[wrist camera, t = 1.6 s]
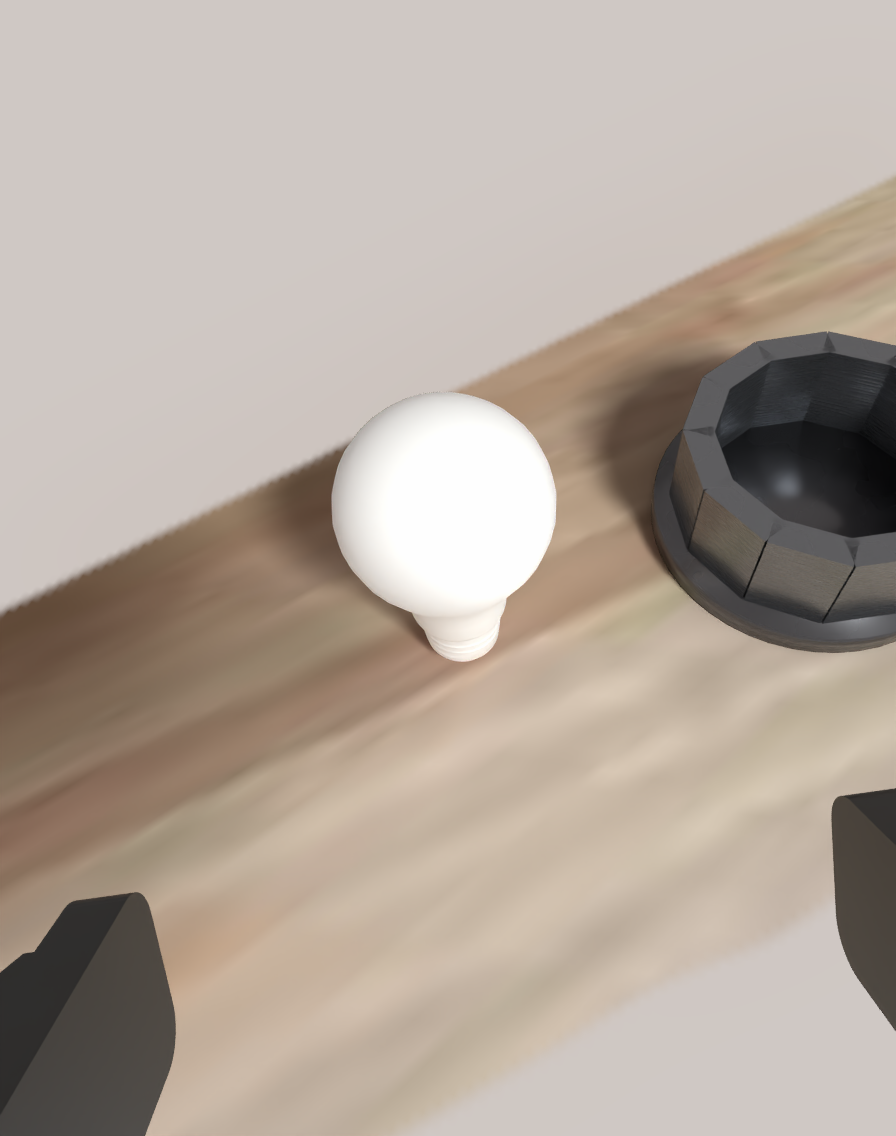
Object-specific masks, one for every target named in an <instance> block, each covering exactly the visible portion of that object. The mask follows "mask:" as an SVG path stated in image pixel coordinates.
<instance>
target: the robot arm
mask: <svg viewBox="0 0 896 1136" xmlns="http://www.w3.org/2000/svg"><path fill="white" fill-rule="evenodd" d="M832 840H833V861H834V882H835V903H836V919H837V925H838V931H839V935H840V939H841V942H842V946H843V949H844V952H845V954H846V957H847V959H848V961H849V963H850V966H851V968H852V970H853V971H854V973H855V975H856V976H857V978H858V979H859V981H860V982H861V984H862V985H863V986H864V988H865V989H866V990H867V992H868V993H869V995H870V996H871V998H872V999H873V1000H874V1002H875V1003H876V1004H877V1006H878V1007H879V1009H880V1010H881V1011H882V1013H883V1014H884V1016H885V1017H886V1018H887V1020H888V1021H889V1022H890V1024H891V1025H892V1027H893V1028H894V1029H895V1030H896V788H895V789H888V790H881V791H874V792H867V793H860V794H852V795H845V796H839V797H837V798H836V799H835V801H834V803H833V807H832ZM175 1035H176V1024H175V1012H174V1006H173V1001H172V997H171V993H170V989H169V985H168V981H167V977H166V973H165V968H164V964H163V960H162V956H161V952H160V948H159V944H158V939H157V935H156V931H155V927H154V923H153V919H152V915H151V911H150V908H149V905H148V903H147V901H146V899H145V897H144V896H143V895H142V894H140V893H137V892H135V893H128V894H120V895H113V896H106V897H99V898H92V899H84V900H77V901H73V902H71V903H70V904H68V905H67V906H66V908H65V909H64V910H63V912H62V913H61V914H60V916H59V917H58V919H57V920H56V922H55V923H54V925H53V926H52V927H51V929H50V930H49V932H48V933H47V935H46V936H45V937H44V939H43V940H42V942H41V943H40V945H39V946H38V947H37V949H36V950H35V952H32V953H25V954H22V955H21V956H20V957H19V958H18V959H16V960H15V961H14V962H13V963H11V964H10V965H9V966H8V967H7V968H5V969H4V970H3V971H2V972H1V973H0V1136H145V1134H146V1131H147V1129H148V1126H149V1123H150V1121H151V1118H152V1115H153V1113H154V1110H155V1108H156V1105H157V1102H158V1100H159V1097H160V1094H161V1092H162V1089H163V1086H164V1084H165V1081H166V1079H167V1076H168V1073H169V1070H170V1067H171V1064H172V1060H173V1054H174V1048H175Z"/></svg>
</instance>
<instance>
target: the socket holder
mask: <svg viewBox="0 0 896 1136" xmlns="http://www.w3.org/2000/svg"><path fill="white" fill-rule="evenodd" d="M651 518H652V527H653V532H654V536H655V541H656V543H657V546H658V548H659V551H660V554H661V556H662V558H663V560H664V562H665V563H666V565H667V567H668V569H669V571H670V572H671V573H672V575H673V576H674V577H675V579H676V580H677V581H678V583H679V584H680V585H681V587H682V588H683V589H684V590H685V591H686V592H687V593H688V594H689V595H690V596H691V597H692V598H693V599H694V600H695V601H696V602H697V603H698V604H700V605H701V606H702V607H703V608H704V609H706V610H707V611H708V612H709V613H711V614H712V615H714V616H715V617H717V618H718V619H720V620H721V621H723V622H724V623H726V624H728V625H729V626H731V627H733V628H735V629H737V630H739V631H741V632H743V633H745V634H747V635H749V636H752V637H755V638H757V639H760V640H763V641H765V642H768V643H771V644H775V645H779V646H783V647H787V648H791V649H797V650H804V651H811V652H827V653H841V652H853V651H861V650H866V649H871V648H876V647H880V646H883V645H886V644H889V643H892V642H895V641H896V346H895V345H890V344H885V343H881V342H876V341H871V340H866V339H862V338H857V337H852V336H847V335H842V334H838V333H833V332H828V334H827V332H819V333H813V334H806V335H799V336H792V337H785V338H778V339H771V340H764V341H757V342H756V343H755V342H754V343H753V344H751V345H750V346H748V347H747V348H745V349H744V350H742V351H741V352H739V353H738V354H736V355H735V356H733V357H732V358H730V359H729V360H727V361H726V362H724V363H723V364H721V365H720V366H718V367H717V368H715V369H714V370H712V371H711V372H709V373H708V374H706V375H705V376H703V377H702V380H701V383H700V385H699V388H698V391H697V393H696V396H695V399H694V401H693V404H692V406H691V409H690V412H689V414H688V417H687V420H686V422H685V425H684V428H683V429H682V430H681V431H680V432H679V434H678V435H677V436H676V437H675V438H674V439H673V441H672V442H671V444H670V445H669V447H668V448H667V450H666V452H665V454H664V456H663V458H662V460H661V462H660V465H659V468H658V472H657V475H656V479H655V484H654V490H653V496H652V504H651Z"/></svg>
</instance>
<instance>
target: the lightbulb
mask: <svg viewBox="0 0 896 1136" xmlns="http://www.w3.org/2000/svg"><path fill="white" fill-rule="evenodd" d="M555 521H556V490H555V485H554V481H553V477H552V473H551V470H550V466H549V463H548V461H547V459H546V457H545V455H544V453H543V451H542V449H541V447H540V446H539V444H538V443H537V441H536V439H535V438H534V436H533V435H532V434H531V433H530V432H529V431H528V429H527V428H526V427H525V426H524V425H523V424H522V423H521V422H520V421H518V420H517V419H516V418H514V417H513V416H512V415H511V414H509V413H508V412H506V411H505V410H504V409H502V408H500V407H499V406H497V405H495V404H493V403H491V402H489V401H487V400H483V399H480V398H477V397H474V396H471V395H466V394H460V393H454V392H432V393H425V394H419V395H416V396H413V397H409V398H406V399H403V400H401V401H399V402H397V403H395V404H393V405H391V406H389V407H387V408H386V409H384V410H383V411H381V412H380V413H378V414H377V415H376V416H374V417H373V418H372V419H371V420H369V421H368V422H367V423H366V424H365V425H364V426H363V427H362V428H361V429H360V430H359V432H358V433H357V434H356V436H355V437H354V438H353V440H352V441H351V443H350V444H349V445H348V447H347V448H346V450H345V451H344V453H343V456H342V458H341V460H340V462H339V465H338V467H337V471H336V475H335V480H334V485H333V490H332V522H333V528H334V531H335V534H336V538H337V541H338V544H339V547H340V550H341V552H342V554H343V556H344V558H345V560H346V561H347V563H348V565H349V566H350V568H351V569H352V571H353V572H354V573H355V574H356V575H357V576H358V577H359V579H360V580H361V581H362V582H363V583H364V584H365V585H366V586H367V587H368V588H369V589H370V590H371V591H372V592H373V593H374V594H376V595H377V596H379V597H380V598H382V599H383V600H385V601H386V602H388V603H390V604H392V605H394V606H397V607H399V608H402V609H404V610H407V611H409V612H412V614H413V617H414V618H415V620H416V621H417V623H418V624H419V625H420V626H421V627H422V628H423V629H424V631H425V633H426V636H427V639H428V641H429V643H430V644H431V646H432V648H433V649H434V650H435V651H436V652H437V653H438V654H439V655H441V656H442V657H444V658H447V659H449V660H453V661H461V662H464V661H471V660H474V659H477V658H479V657H481V656H483V655H484V654H486V653H487V652H488V651H489V650H490V649H491V648H492V647H493V645H494V644H495V642H496V640H497V637H498V633H499V626H500V617H501V615H502V614H503V612H504V609H505V605H506V598H507V597H508V596H509V595H511V594H512V593H513V592H514V591H516V590H517V589H518V588H519V587H521V586H522V585H523V584H524V583H525V582H526V581H527V580H528V579H529V577H530V576H531V575H532V574H533V573H534V571H535V570H536V569H537V567H538V565H539V564H540V562H541V560H542V558H543V556H544V554H545V552H546V550H547V548H548V545H549V543H550V541H551V537H552V534H553V530H554V526H555Z"/></svg>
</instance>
